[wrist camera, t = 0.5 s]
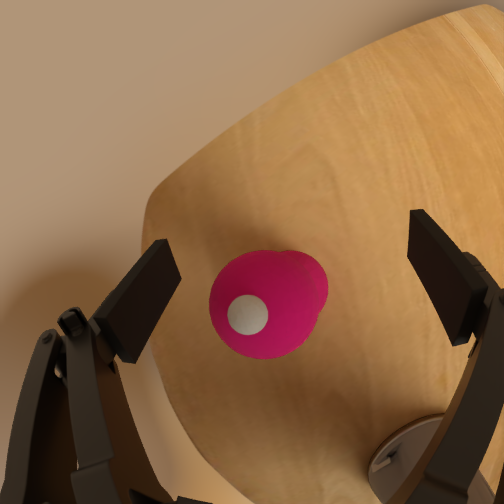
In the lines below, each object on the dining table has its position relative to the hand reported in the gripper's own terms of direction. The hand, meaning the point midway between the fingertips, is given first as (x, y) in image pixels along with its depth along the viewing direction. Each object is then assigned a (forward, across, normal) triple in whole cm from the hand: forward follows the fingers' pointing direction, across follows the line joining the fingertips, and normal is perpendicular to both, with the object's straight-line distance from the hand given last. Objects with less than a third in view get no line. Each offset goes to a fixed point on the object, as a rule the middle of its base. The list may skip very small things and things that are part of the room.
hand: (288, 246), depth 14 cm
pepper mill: (+12, +1, +12) cm, 17 cm away
